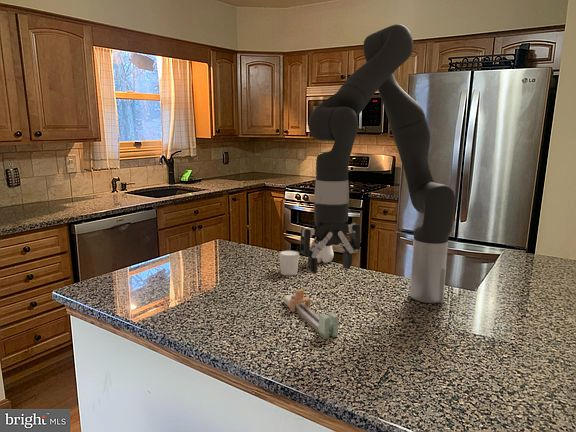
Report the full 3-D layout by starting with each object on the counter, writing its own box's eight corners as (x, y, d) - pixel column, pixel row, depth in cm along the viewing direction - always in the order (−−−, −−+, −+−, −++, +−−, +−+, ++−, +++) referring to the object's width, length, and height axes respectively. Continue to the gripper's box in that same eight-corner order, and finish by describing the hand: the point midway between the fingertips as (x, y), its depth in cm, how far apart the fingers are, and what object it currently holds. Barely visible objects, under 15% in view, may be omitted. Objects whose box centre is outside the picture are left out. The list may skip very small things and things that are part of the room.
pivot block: (283, 302, 119) (283, 294, 119) (298, 300, 121) (298, 292, 120) (289, 308, 115) (289, 299, 115) (304, 305, 117) (304, 297, 117)
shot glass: (297, 276, 141) (297, 256, 139) (276, 275, 142) (276, 255, 141) (300, 270, 147) (300, 250, 146) (281, 268, 148) (281, 249, 147)
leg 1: (291, 308, 115) (291, 290, 114) (295, 307, 116) (295, 290, 115) (324, 339, 98) (325, 318, 97) (329, 338, 99) (330, 317, 98)
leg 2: (299, 306, 116) (299, 289, 115) (304, 306, 117) (304, 288, 116) (332, 337, 99) (333, 317, 98) (337, 336, 99) (338, 316, 98)
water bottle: (311, 262, 155) (312, 195, 151) (317, 257, 162) (318, 192, 157) (330, 265, 153) (332, 196, 148) (335, 259, 159) (337, 193, 154)
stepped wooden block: (289, 309, 115) (289, 291, 114) (307, 306, 117) (307, 288, 116) (292, 312, 113) (292, 293, 112) (310, 309, 115) (310, 290, 114)
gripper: (350, 196, 100) (348, 262, 103) (295, 199, 95) (294, 269, 98) (368, 200, 93) (365, 271, 97) (310, 205, 88) (309, 279, 91)
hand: (330, 270), depth 97 cm, fingers open, 8 cm apart
